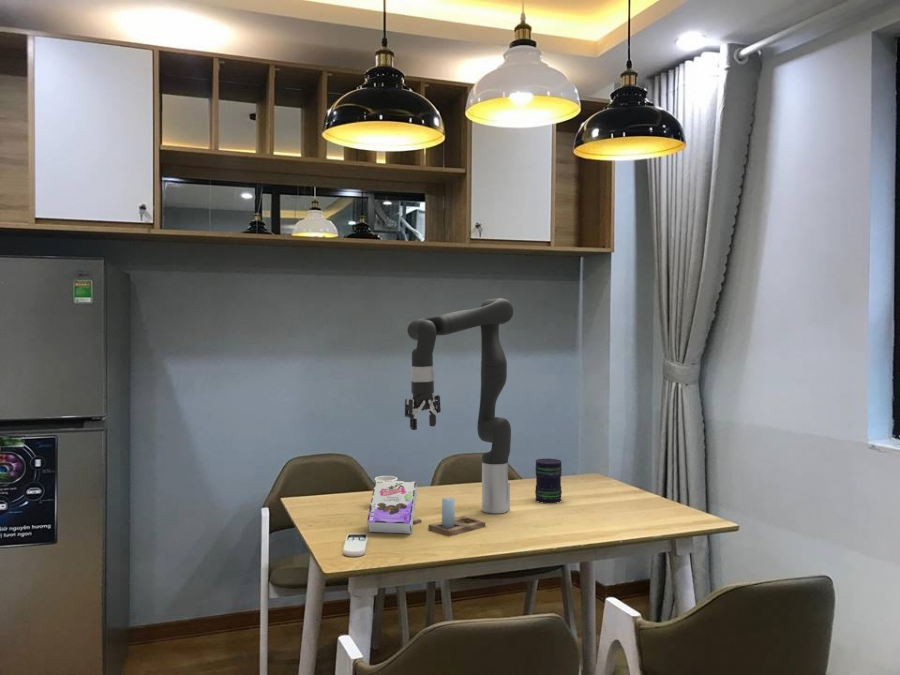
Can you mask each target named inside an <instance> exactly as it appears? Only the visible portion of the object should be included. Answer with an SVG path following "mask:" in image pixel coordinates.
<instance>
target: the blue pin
mask: <svg viewBox="0 0 900 675" xmlns="http://www.w3.org/2000/svg"><path fill="white" fill-rule="evenodd" d="M455 500H456V499H455V498H453V497H444V498H442V499H441V522H442V528H445V529H450V528H454V527H455V518H456V517H455V516H456V515H455V510H456V509H455V502H456V501H455Z"/></svg>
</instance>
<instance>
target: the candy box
mask: <svg viewBox="0 0 900 675" xmlns="http://www.w3.org/2000/svg"><path fill="white" fill-rule="evenodd" d="M372 490H373V492H372V495H371V500H370V505H369V510H368V514H367V520H366V526H367V528H368V531H369V533H384V534H385V533H387V534H409V535H410V534H412V533H413V525H414V524H413V518H414V517H415V512H416V511H415V510H416V503H417V496H418V487H417V482H416V481H403V480H402V481H401V480H397V481H379V480H375V479H374V485H373V489H372Z"/></svg>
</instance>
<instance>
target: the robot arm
mask: <svg viewBox="0 0 900 675" xmlns="http://www.w3.org/2000/svg"><path fill="white" fill-rule="evenodd" d="M513 315H514V306H513V303H511V302H510V301H509V300H508V299H505V298H499V297H498V298H488V299H485V300H484V301H483V302H482V303H481V304H480V307H477V308H471V309H462V310H456V311H452V312H451V311H450V312H446V313H443V314H439V315H437V316H430V317H429V316H428V317H424V318H418V319H415V320H412V321H411V322H410V323H409V324H408V327H407V329H406V330H407V335H408V336H409V338H411V339H412V340H414V341H417V344H416V348H414V349H413V350H412V352H411V371H410V372H411V373H410V376H411V377H410V378H411V379H410V384H411V385H410V386H411V390H410V391H411V394H412V398H405V399H404V400H405V401H404V417H405V418H409V428H410V429H411V430H412V431H417V429H418V418H417V417H418V415H419V414H420V413H421V411H422V412H423V411H428V414H429V416H428V418H429V420H428V421H429V422H428V423H429V425H428V426H430V427H436V424H437V414H438V413H441V411H442V410H441V409H442V408H441V396H440V395H439V394H434V393H435V374H434V366H433V365H434V358H433V357H434V354H433V353H434V349H435V345H436V342H437V341H436V339H437V337H438V336H447V335H451V334H454V333H458V332H461V331H466V330H468V329H472V328H477V327H480V336H481V340H480V341H481V345H480V346H481V349H480V350H481V351H480V352H481V356H480V357H481V360H480V396H479V398H480V399H479V410H478V419H477V428H476V429H477V435H478V438H479V440H481V441H482V442H486V443H490V444H491V449H490V451H486V452H484V453H483V454H482V456H481V511H482V512H484V513H487V514H504V513H507V512H508V511H510V509H511V508H510V507H511V503H510V502H511V497H510V496H511V484H510V482H509V457H510V453H511V441H512V426H511V423H510V422H509V420H508V419H507V418H505V417H498V416H496V405H497V401H498V398H499V396H500V394H501V393H502V391H503V389H504V387H505V385H506V382H507V376H508V373H507V372H508V362H507V357H506V353H505V352H504V350H503V347H502V345H501V344H502V343H501V341H500V325H504V324H507V323H508V322H510V321H511V319H512V318H513Z"/></svg>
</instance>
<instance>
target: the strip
mask: <svg viewBox="0 0 900 675" xmlns="http://www.w3.org/2000/svg"><path fill="white" fill-rule="evenodd" d="M420 523H421V524H422V519H421V518H418V517H415V516H414V518H413V525H416V524H420Z"/></svg>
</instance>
